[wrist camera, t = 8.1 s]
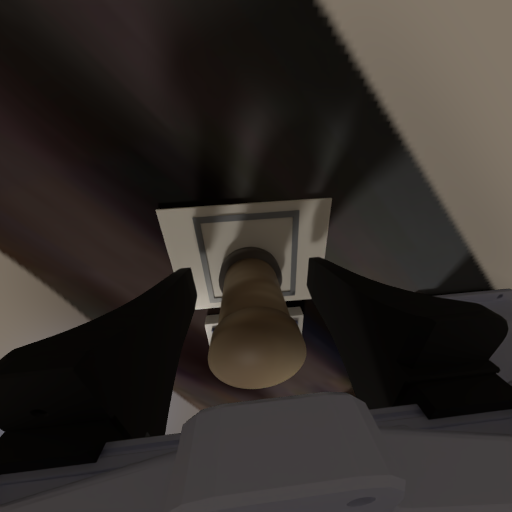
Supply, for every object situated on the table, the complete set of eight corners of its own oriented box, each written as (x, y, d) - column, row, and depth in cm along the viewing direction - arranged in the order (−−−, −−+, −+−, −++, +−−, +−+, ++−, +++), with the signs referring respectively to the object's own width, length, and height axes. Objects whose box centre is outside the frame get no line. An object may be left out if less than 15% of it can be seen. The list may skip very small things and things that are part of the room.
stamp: (278, 243, 13) (314, 310, 7) (279, 295, 15) (308, 384, 8) (215, 249, 13) (192, 324, 6) (224, 301, 14) (212, 396, 8)
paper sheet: (330, 197, 12) (332, 198, 12) (318, 295, 16) (319, 298, 15) (157, 209, 11) (154, 210, 11) (186, 307, 15) (184, 311, 15)
